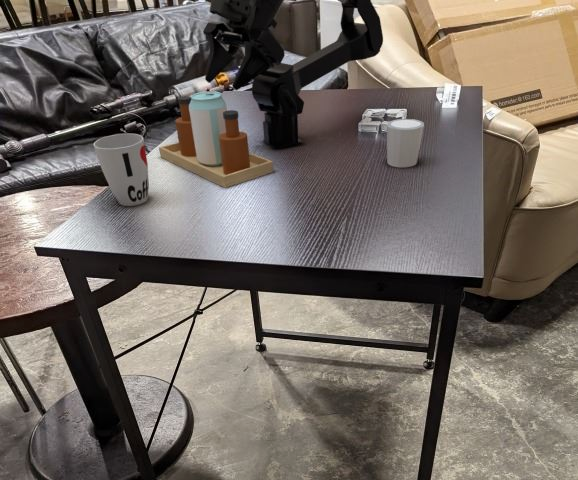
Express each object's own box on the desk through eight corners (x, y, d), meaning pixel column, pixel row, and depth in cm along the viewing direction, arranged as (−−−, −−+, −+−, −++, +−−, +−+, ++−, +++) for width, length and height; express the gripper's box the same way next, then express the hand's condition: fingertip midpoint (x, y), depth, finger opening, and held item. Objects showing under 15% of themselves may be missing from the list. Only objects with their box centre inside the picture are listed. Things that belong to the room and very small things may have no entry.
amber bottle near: (244, 164, 103) (238, 106, 96) (254, 172, 99) (249, 113, 92) (219, 170, 101) (211, 111, 94) (229, 178, 98) (222, 118, 91)
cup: (133, 212, 89) (117, 151, 82) (100, 204, 93) (82, 145, 86) (165, 195, 94) (153, 136, 88) (133, 188, 98) (119, 131, 91)
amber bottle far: (201, 147, 113) (192, 93, 106) (209, 153, 109) (201, 98, 102) (177, 151, 111) (168, 97, 104) (185, 158, 107) (175, 102, 100)
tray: (160, 157, 110) (158, 147, 109) (205, 144, 115) (204, 134, 114) (225, 188, 96) (223, 177, 94) (273, 171, 101) (272, 161, 99)
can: (194, 159, 107) (183, 93, 99) (227, 153, 109) (219, 88, 101) (202, 169, 102) (191, 101, 94) (237, 163, 104) (229, 96, 96)
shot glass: (398, 154, 105) (401, 116, 100) (427, 161, 101) (432, 122, 96) (376, 163, 101) (379, 124, 97) (406, 171, 98) (409, 131, 93)
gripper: (204, -33, 95) (163, 48, 97) (266, -31, 84) (218, 60, 86) (244, 15, 104) (205, 88, 106) (305, 22, 93) (260, 103, 95)
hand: (220, 84), depth 98 cm, fingers open, 9 cm apart
